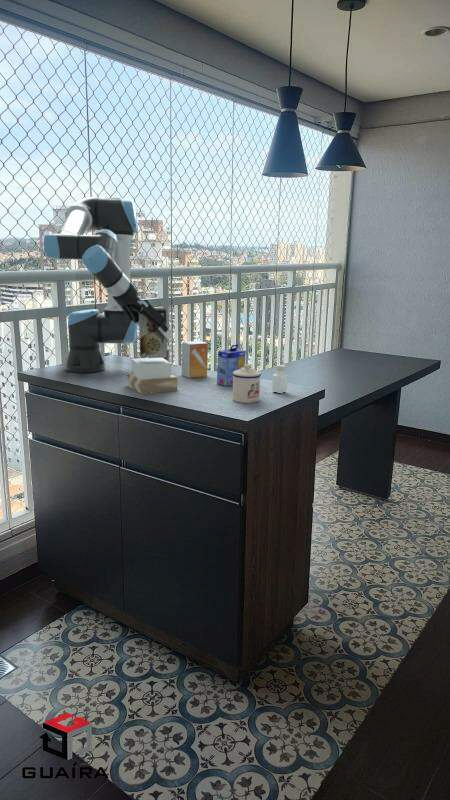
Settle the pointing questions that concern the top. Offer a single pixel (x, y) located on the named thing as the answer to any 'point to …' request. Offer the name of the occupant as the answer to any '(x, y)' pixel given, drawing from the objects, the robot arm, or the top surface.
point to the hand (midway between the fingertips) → (159, 334)
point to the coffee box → (151, 337)
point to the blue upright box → (229, 364)
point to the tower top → (151, 368)
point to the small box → (194, 359)
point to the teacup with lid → (246, 385)
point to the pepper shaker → (279, 380)
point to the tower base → (152, 384)
